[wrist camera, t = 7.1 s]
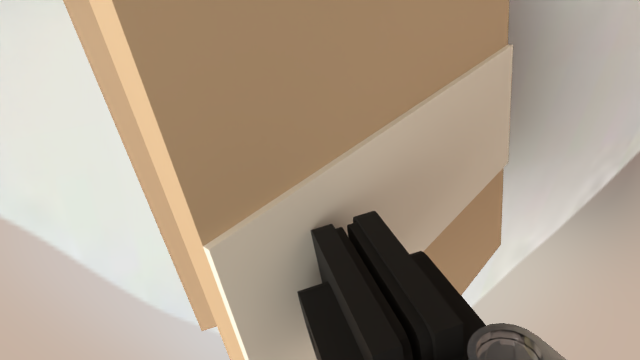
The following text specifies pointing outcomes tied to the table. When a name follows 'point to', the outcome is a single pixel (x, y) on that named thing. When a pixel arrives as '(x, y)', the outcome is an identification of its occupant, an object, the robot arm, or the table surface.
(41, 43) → the table surface
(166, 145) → the lid
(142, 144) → the box
